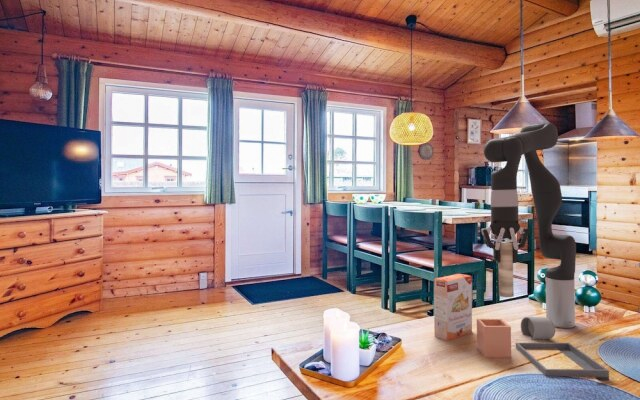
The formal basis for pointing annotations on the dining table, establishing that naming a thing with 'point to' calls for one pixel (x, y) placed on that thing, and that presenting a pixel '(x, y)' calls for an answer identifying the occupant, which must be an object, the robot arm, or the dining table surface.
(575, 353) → the rectangular frame
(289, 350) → the dining table surface
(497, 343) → the pink square planter
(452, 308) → the cracker box
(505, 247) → the dowel
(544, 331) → the ceramic mug
